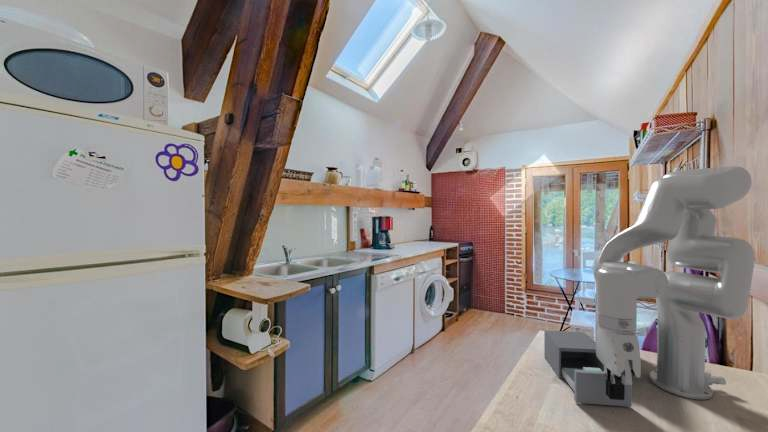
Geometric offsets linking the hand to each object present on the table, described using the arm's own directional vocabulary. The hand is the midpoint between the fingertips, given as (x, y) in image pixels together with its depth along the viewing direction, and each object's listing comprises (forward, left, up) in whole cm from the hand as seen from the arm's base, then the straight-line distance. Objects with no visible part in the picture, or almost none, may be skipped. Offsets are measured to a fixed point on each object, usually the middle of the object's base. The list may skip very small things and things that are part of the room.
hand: (614, 397), depth 73 cm
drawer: (0, -11, -5) cm, 12 cm away
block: (0, -8, -4) cm, 9 cm away
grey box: (0, -23, -6) cm, 23 cm away
